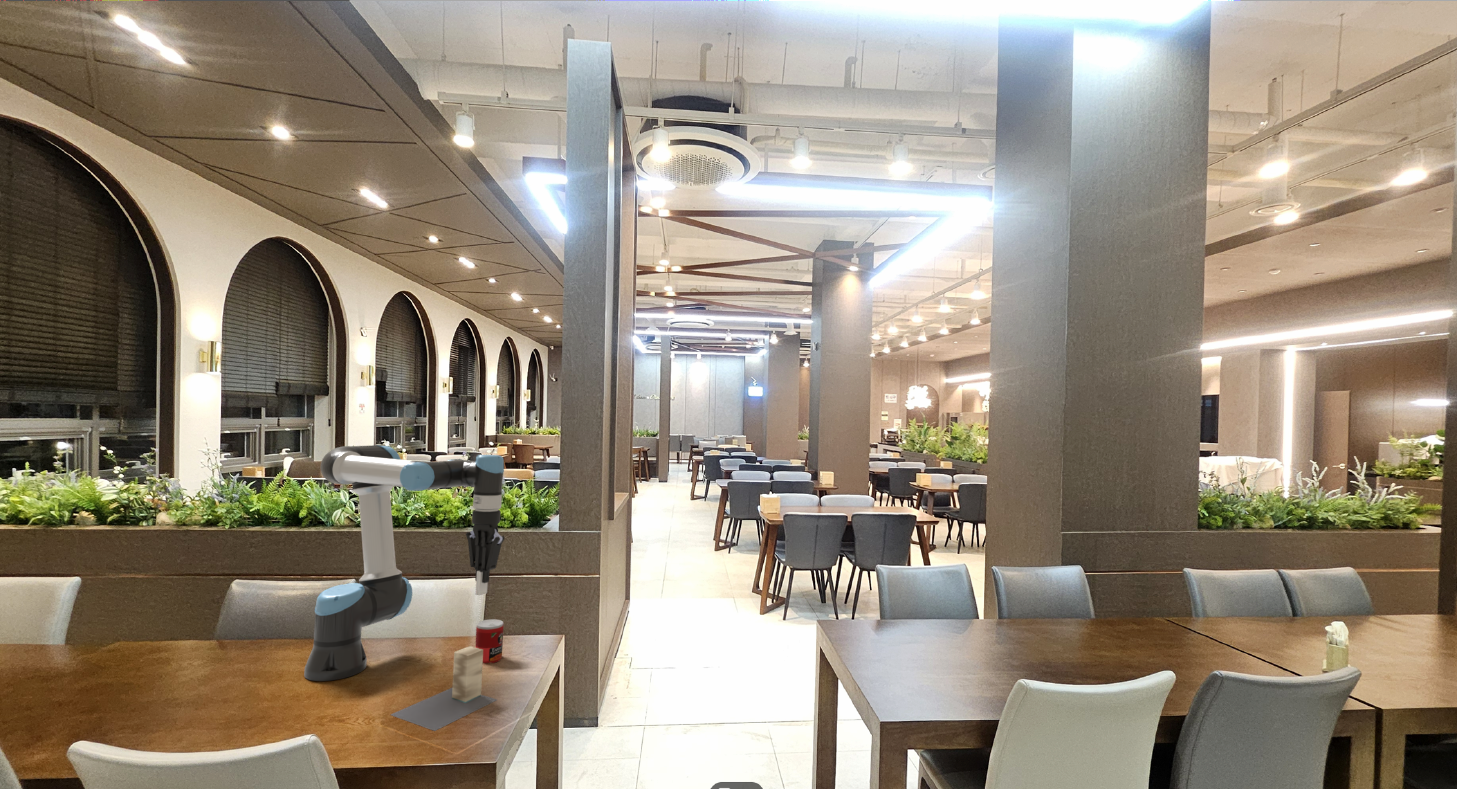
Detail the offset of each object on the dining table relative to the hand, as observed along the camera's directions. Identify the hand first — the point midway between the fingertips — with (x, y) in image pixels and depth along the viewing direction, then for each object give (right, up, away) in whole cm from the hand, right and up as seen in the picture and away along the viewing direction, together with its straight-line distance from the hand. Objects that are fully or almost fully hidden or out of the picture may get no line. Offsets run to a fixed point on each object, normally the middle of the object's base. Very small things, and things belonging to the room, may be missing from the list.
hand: (481, 593), depth 175 cm
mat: (-2, -24, -17) cm, 29 cm away
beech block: (+1, -24, -12) cm, 26 cm away
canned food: (-4, -25, +15) cm, 30 cm away
